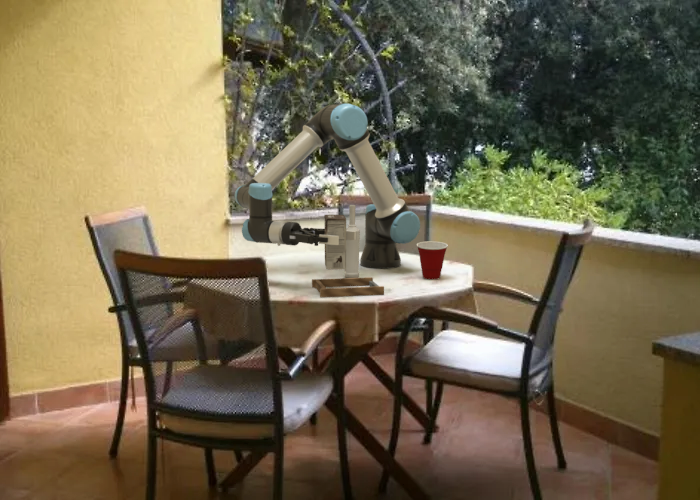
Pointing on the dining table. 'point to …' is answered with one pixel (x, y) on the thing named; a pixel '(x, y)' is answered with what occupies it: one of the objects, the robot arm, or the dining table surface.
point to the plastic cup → (431, 258)
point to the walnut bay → (350, 291)
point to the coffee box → (335, 253)
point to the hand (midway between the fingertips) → (346, 238)
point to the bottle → (352, 248)
